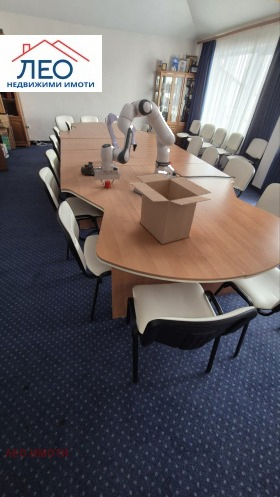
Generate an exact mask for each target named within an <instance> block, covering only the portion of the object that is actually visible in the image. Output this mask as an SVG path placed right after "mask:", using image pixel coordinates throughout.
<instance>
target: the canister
mask: <svg viewBox="0 0 280 497" xmlns="http://www.w3.org/2000/svg"><path fill="white" fill-rule="evenodd" d="M104 188H105V189H110V188H111V180H104Z"/></svg>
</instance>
